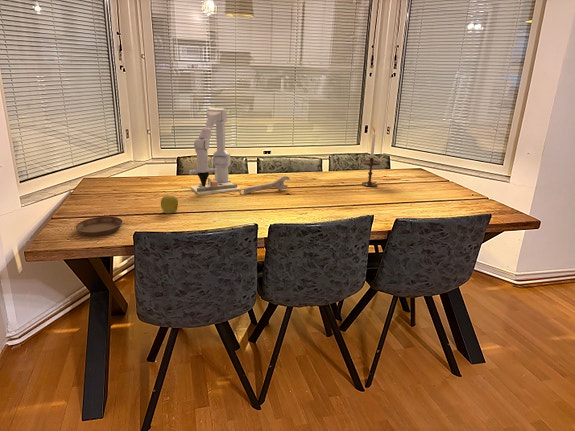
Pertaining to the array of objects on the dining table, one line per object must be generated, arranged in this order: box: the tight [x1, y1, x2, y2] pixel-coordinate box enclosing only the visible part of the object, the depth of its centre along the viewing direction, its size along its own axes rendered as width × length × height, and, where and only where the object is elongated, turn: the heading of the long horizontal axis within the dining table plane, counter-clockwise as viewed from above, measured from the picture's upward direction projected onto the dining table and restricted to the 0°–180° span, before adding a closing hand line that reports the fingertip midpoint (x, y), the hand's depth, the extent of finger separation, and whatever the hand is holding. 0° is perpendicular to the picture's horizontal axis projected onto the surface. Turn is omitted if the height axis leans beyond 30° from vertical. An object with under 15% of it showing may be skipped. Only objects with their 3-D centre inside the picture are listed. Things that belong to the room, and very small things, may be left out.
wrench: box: [238, 175, 291, 195], centre depth 225 cm, size 8×2×30 cm
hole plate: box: [189, 181, 241, 196], centre depth 228 cm, size 16×24×1 cm, turn 118°
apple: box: [160, 194, 179, 214], centre depth 188 cm, size 8×8×10 cm
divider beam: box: [197, 183, 238, 192], centre depth 228 cm, size 10×23×2 cm, turn 118°
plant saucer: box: [75, 215, 124, 237], centre depth 165 cm, size 18×18×3 cm
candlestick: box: [361, 126, 382, 188], centre depth 239 cm, size 11×11×35 cm
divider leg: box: [207, 177, 218, 188], centre depth 226 cm, size 11×3×4 cm, turn 28°
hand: (203, 186), depth 220 cm, fingers closed
